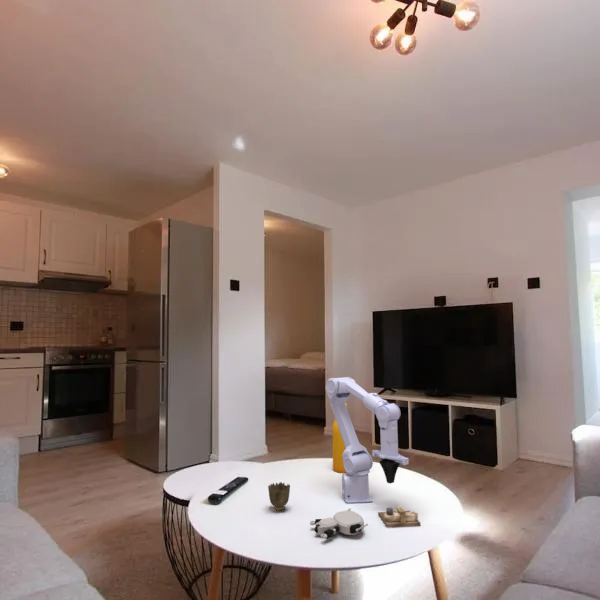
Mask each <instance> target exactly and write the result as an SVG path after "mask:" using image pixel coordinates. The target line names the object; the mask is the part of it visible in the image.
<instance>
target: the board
mask: <svg viewBox="0 0 600 600" xmlns="http://www.w3.org/2000/svg"><path fill="white" fill-rule="evenodd" d="M385 510H386V511H378V512H377V513H378V515H377V516H378V517H379V519H380V518H381V519H380V521H381V522H382V521H383V522H382V523H383V525H384V524H385V525H384V526H385V528H386V527H392V528H408V527H410V528H411V527H421V521H420V520H419V519H418V520H417V521H406V517H405V512H411V510H404V509H403V508H402V507H396V511H394V508H393V507H387V508H386V509H385ZM385 513H386V514H388V515H393V513H400V521H394V522H388V521H385Z"/></svg>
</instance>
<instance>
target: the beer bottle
mask: <svg viewBox="0 0 600 600" xmlns="http://www.w3.org/2000/svg"><path fill="white" fill-rule="evenodd" d="M345 405H346V408H347V411H348V403H346V402H345ZM348 412H349V411H348ZM331 433H332V437H331V438H332V469H333V471H334V472H335V471H336V472H335V473H338V472H339V474H346V473H347V472H346V471H345V469H344V465H343V457H342V454H343V452H344V451H345V449H346V448H345V445H344V442H343V439H342V436H341V434H340V431H339V428H338V425H337V422H336V419H335V418H334V421H333V424H332V430H331Z"/></svg>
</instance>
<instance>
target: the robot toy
mask: <svg viewBox="0 0 600 600" xmlns="http://www.w3.org/2000/svg"><path fill="white" fill-rule="evenodd" d="M309 525H310V526H314V531H315V534H317V535H318V536H319V537H321V539H324V540H326V539H327V540H328V539H330V538H332V537H333V536H334V535H337V533H339V532H340V533H342V534H344V535H346V536H347V535H348V536H356V535H357V534H359V533H362V532H363V531H364V529H365V527H367V526H369V523H365V522H364V518H363V517H362V516H361V515H360V514H359V513H357V512H355V511H353V510H352V508H348V509H347V510H343V511H338V512H337V511H336V512H335V514H334V515H333V517H326V518H316V519H315V520H310V521H309Z"/></svg>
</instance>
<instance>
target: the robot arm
mask: <svg viewBox="0 0 600 600" xmlns="http://www.w3.org/2000/svg"><path fill="white" fill-rule="evenodd" d="M325 391H326V394H327V397H328V399H329V403H330V408H331V410H332V413H333V415H334V416H333V417H334V420H335V419H336V422H337V425H338V428H339V431H340V434H341V436H342V439H343V442H344V445H345V448H346V449H345V451H344V452H343V454H342V457H343V465H344V469H345V471H346V472H347V473H342V475H341V481H342V482H341V487H342V489H341V492H342V493H341V495H342V498H343V500H344V502H345V503H346V504H351V503H372V502H373V499H372V498H371V496H370V488H369V487H370V484H369V474H370V472H371V471H370V470H372V468H373V465H374V464H373V463H374V462H373V458H372V457H376V458H380V460H379V461H378V462H379V464H380V466H381V468H382V471H383V473H384V477H385V480H386V483H387V484H393V483H395V478H396V474H397V471H398V469H399V467H400V465H403V466H406V465H409V464H410V463H409V461H410V460H409V458H408V457H405V456H403V455H402V454H400V453H399V438H398V437H399V434H398V420H399V419H400V418H401V409H400V407H399V406H398V405H397V404H396V403H394V402H393V403H391V402H390V403H389V402H388V401H387V400H386V399H383V398H382V397H380V396H379V394H378V393H377V392H370V393H369V392H367V391H366V390H365V389H364V388H363V387H361V386H360V385H359V384H358V383H357V382H356V380H355V379H353V378H352V377H350V376H345V377H344V376H343V377H330V378H328V379H327V381H326V384H325ZM351 395H352V396H353V397H355V398H357V399H358V400H360V401H361V402H363V406H364V408H366V409H368V410H369V411H371V412H372V413H373V414H374V415H375V417H376V419H377V421H378V426H379V428H380V430H379V431H380V432H379V433H380V450H379V449H372V450H371V454H370V453H369V452H368V450H367V448H366V447H365V446H364V445H362V444H361V443H360V441H359V438H358V436H357V433H356V429H355V428H354V425H353V422H352V419H351V416H350V414H349V411H347V410H348V407H347V408H346V405H345V403H346V402H347V401H348V399H349V398H350V397H351ZM371 455H372V456H371Z"/></svg>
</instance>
